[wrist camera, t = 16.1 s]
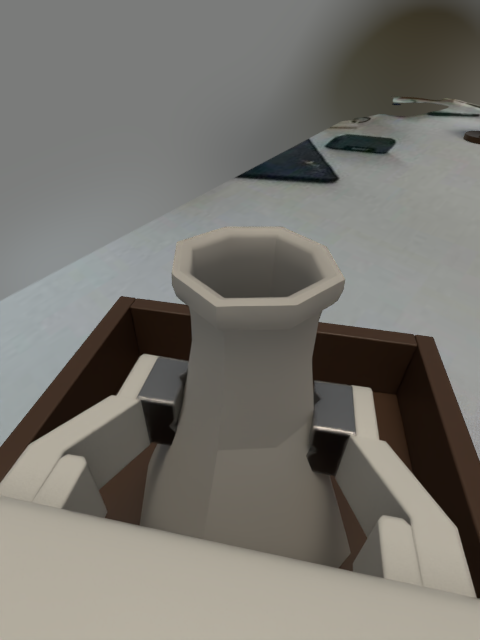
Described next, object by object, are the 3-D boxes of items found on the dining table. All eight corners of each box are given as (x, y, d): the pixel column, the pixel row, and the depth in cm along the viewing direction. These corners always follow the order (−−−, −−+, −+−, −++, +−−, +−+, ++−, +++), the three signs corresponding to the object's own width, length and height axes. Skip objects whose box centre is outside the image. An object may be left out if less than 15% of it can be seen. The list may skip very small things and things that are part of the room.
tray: (-115, 762, 9) (-248, 754, 6) (133, 355, 20) (120, 295, 18) (542, 979, 7) (718, 1088, 4) (405, 396, 18) (433, 336, 16)
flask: (122, 456, 14) (46, 211, 8) (283, 404, 17) (317, 183, 11) (162, 699, 9) (36, 520, 3) (389, 574, 11) (580, 328, 5)
